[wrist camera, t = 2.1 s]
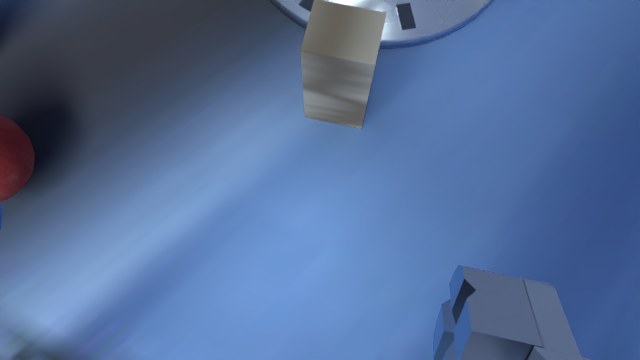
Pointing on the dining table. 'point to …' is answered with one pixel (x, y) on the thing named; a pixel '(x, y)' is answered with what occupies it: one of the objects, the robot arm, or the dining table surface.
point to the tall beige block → (339, 61)
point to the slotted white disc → (402, 17)
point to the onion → (14, 158)
